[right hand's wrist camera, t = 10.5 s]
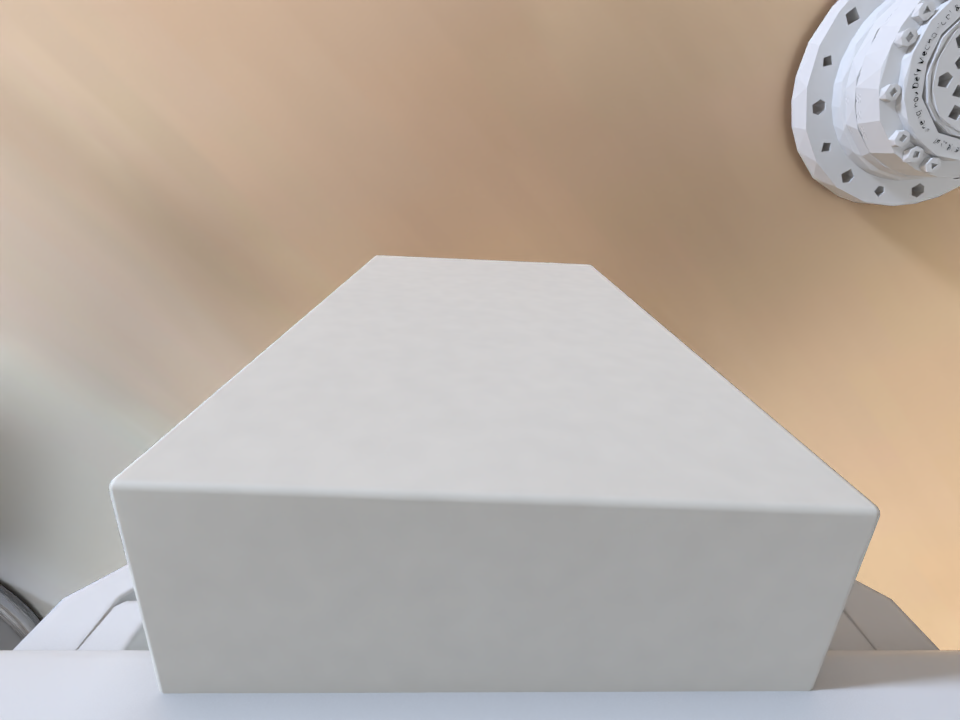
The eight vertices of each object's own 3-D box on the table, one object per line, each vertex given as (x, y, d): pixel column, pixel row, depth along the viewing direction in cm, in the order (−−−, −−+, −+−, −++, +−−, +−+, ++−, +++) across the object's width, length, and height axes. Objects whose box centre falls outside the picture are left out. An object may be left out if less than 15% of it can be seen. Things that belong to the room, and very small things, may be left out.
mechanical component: (740, 125, 23) (890, 244, 25) (796, 114, 19) (971, 258, 21) (912, -106, 20) (1067, 49, 22) (1023, -177, 16) (1202, 21, 18)
